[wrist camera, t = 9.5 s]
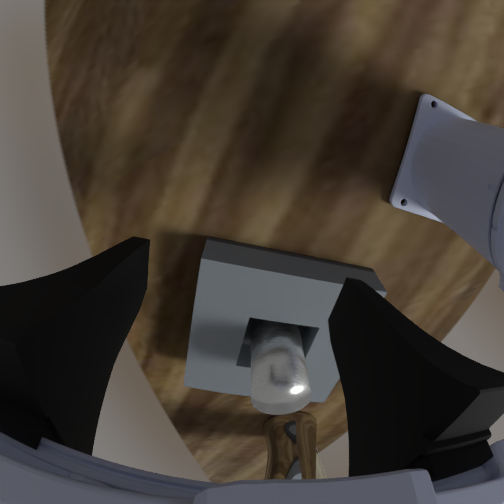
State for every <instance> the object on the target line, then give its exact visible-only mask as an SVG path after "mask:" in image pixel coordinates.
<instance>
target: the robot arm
mask: <svg viewBox="0 0 504 504" xmlns="http://www.w3.org/2000/svg"><path fill="white" fill-rule="evenodd" d="M432 101H433V102H434V107H432V106H431V102H432ZM403 199H405V202H404V203H403V204H401V201H402V200H403ZM389 201H390V203H391V205H392V206H394V207H396V208H399V209H402V210H405V211H408V212H412V213H415V214H418V215H421V216H424V217H427V218H430V219H433V220H436V221H439V222H442V223H444V224H446V225H447V226H448V227H449V228H451V229H452V230H453V231H454V232H455V233H457V234H458V235H459V236H460V237H461V238H463V239H464V240H465V241H466V242H467V243H468V244H470V245H471V246H472V247H473V248H474V249H475V250H476V251H478V252H479V253H480V254H481V255H482V256H483V257H484V258H485V259H486V260H488V261H489V262H490V263H491V264H492V265H493V266H494V267H495V268H496V269H497V270H498V271H499V273H500V284H499V287H500V288H501V289H502V290H503V291H504V128H500V127H497V126H493V125H489V124H485V123H481V122H477V121H476V120H474V119H473V118H471V117H469V116H468V115H466V114H464V113H463V112H461V111H459V110H457V109H456V108H454V107H452V106H450V105H448V104H447V103H445V102H443V101H441V100H439V99H437V98H435V97H433V96H431V95H429V94H422V95H421V97H420V99H419V103H418V107H417V111H416V114H415V118H414V122H413V125H412V129H411V132H410V136H409V139H408V143H407V146H406V149H405V153H404V156H403V159H402V162H401V165H400V168H399V171H398V174H397V177H396V180H395V183H394V186H393V189H392V192H391V195H390V199H389ZM149 246H150V240H149V239H144V238H139V237H131V238H129V239H127V240H125V241H123V242H121V243H119V244H117V245H115V246H113V247H111V248H109V249H108V250H106V251H104V252H102V253H100V254H98V255H96V256H94V257H92V258H90V259H87V260H85V261H83V262H81V263H79V264H77V265H74V266H72V267H70V268H67V269H65V270H62V271H59V272H56V273H53V274H50V275H48V276H44V277H40V278H36V279H33V280H29V281H25V282H21V283H16V284H11V285H6V286H0V504H504V439H503V440H500V441H497V442H496V443H493V444H492V445H490V446H489V444H488V442H487V439H489V438H490V437H491V432H490V430H489V427H490V426H491V425H493V424H494V423H495V421H497V420H498V419H499V417H500V416H501V415H502V414H503V413H504V373H503V372H501V371H498V370H495V369H493V368H490V367H487V366H484V365H482V364H480V363H478V362H476V361H474V360H471V359H469V358H467V357H465V356H463V355H461V354H459V353H458V352H456V351H454V350H453V349H451V348H449V347H447V346H445V345H444V344H442V343H441V342H439V341H438V340H436V339H435V338H433V337H432V336H430V335H429V334H428V333H426V332H425V331H423V330H422V329H421V328H419V327H418V326H417V325H416V324H414V323H413V322H412V321H411V320H409V319H408V318H407V317H406V316H404V315H403V314H402V313H401V312H400V311H398V310H397V309H396V308H395V307H394V306H393V305H392V304H390V303H389V302H388V301H387V300H386V299H385V298H383V297H382V296H381V295H380V294H379V293H378V292H376V291H375V290H374V289H373V288H372V287H370V286H369V285H368V284H366V283H365V282H363V281H362V280H359V279H354V278H348V277H346V279H345V282H344V284H343V287H342V289H341V291H340V294H339V296H338V298H337V300H336V303H335V305H334V307H333V310H332V312H331V314H330V316H329V318H328V325H329V334H330V342H331V346H332V350H333V354H334V357H335V361H336V365H337V368H338V372H339V376H340V380H341V384H342V387H343V392H344V397H345V403H346V412H347V421H348V434H349V477H343V478H330V479H329V478H328V479H270V480H239V481H233V482H228V483H221V484H220V483H211V482H203V481H196V480H190V479H184V478H178V477H172V476H167V475H162V474H157V473H153V472H148V471H144V470H140V469H135V468H131V467H128V466H124V465H120V464H117V463H113V462H110V461H107V460H103V459H100V458H97V457H94V456H92V451H93V445H94V439H95V434H96V429H97V424H98V419H99V415H100V411H101V407H102V403H103V399H104V396H105V392H106V388H107V385H108V382H109V378H110V375H111V372H112V369H113V366H114V363H115V360H116V358H117V356H118V353H119V351H120V349H121V347H122V345H123V343H124V341H125V339H126V337H127V335H128V333H129V331H130V329H131V327H132V324H133V322H134V320H135V318H136V316H137V314H138V312H139V310H140V307H141V304H142V301H143V299H144V295H145V292H146V290H147V279H148V261H149Z"/></svg>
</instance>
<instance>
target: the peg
mask: <svg viewBox="0 0 504 504" xmlns="http://www.w3.org/2000/svg"><path fill="white" fill-rule="evenodd" d="M250 351H251V402H252V405H253V406H254V408H256V409H257V410H258V411H260V412H263V413H266V414H271V415H284V414H289V413H293V412H296V411H298V410H300V409H302V408H304V407H305V406H306V405H307V404H308V403H309V402H310V400H311V390H310V384H309V379H308V373H307V368H306V362H305V357H304V352H303V346H302V341H301V336H300V331H299V326H298V325H296V324H289V323H283V322H276V321H270V320H263V319H257V318H252V319H251V322H250Z"/></svg>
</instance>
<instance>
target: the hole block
mask: <svg viewBox="0 0 504 504" xmlns="http://www.w3.org/2000/svg"><path fill="white" fill-rule="evenodd" d="M346 277H348V278H354V279H359V280H362V281H363V282H365V283H366V284H368V285H369V286H370V287H372V288H373V289H374V290H375V291H376V292H378V293H379V294H380V295H381V296H382V297H383V298H384V297H385V295H386V293H387V291H386V290H385V288H384V286H383V285H382V283H381V282H380V280H379V278H378V277H377V275H376V273H375V272H374V270H373V269H370V268H365V267H360V266H355V265H350V264H345V263H340V262H335V261H330V260H325V259H320V258H315V257H310V256H305V255H300V254H295V253H290V252H285V251H280V250H275V249H270V248H265V247H260V246H255V245H250V244H244V243H239V242H234V241H229V240H224V239H219V238H214V237H208V236H207V240H206V243H205V247H204V250H203V254H202V258H201V263H200V270H199V276H198V282H197V289H196V296H195V302H194V309H193V316H192V323H191V331H190V338H189V346H188V354H187V362H186V370H185V378H184V386H187V387H192V388H198V389H203V390H209V391H216V392H222V393H229V394H236V395H244V396H251V351H250V322H251V319H252V318H257V319H263V320H270V321H276V322H283V323H289V324H296V325H298V326H299V331H300V336H301V341H302V346H303V352H304V357H305V362H306V368H307V373H308V379H309V384H310V390H311V400H310V402H324V401H325V400H326V398H327V397H328V395H329V394H330V392H331V391H332V389H333V387H334V386H335V384H336V383H337V381H338V379H339V378H340V376H339V372H338V368H337V365H336V361H335V357H334V354H333V350H332V346H331V342H330V334H329V325H328V318H329V316H330V314H331V312H332V310H333V307H334V305H335V303H336V300H337V298H338V296H339V294H340V291H341V289H342V287H343V284H344V282H345V279H346Z"/></svg>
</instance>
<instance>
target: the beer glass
mask: <svg viewBox="0 0 504 504" xmlns="http://www.w3.org/2000/svg"><path fill="white" fill-rule="evenodd" d="M263 432H264V435H265V439H266V443H267V449H268V460H267V467H266V473H265V478H264V480H270V479H327V477H326V474H325V471H324V468H323V466H322V463H321V460H320V457H319V454H318V450H317V444H316V432H317V421H316V419H315V417H313V416H312V415H310V414H307V413H303V412H293V413H289V414H284V415H275V416H273V417H271V418H269V419H268V420H267V421H266V422H265V423H264V425H263Z"/></svg>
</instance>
